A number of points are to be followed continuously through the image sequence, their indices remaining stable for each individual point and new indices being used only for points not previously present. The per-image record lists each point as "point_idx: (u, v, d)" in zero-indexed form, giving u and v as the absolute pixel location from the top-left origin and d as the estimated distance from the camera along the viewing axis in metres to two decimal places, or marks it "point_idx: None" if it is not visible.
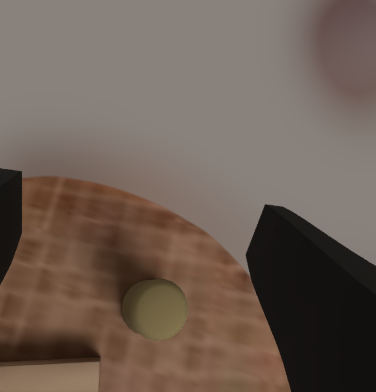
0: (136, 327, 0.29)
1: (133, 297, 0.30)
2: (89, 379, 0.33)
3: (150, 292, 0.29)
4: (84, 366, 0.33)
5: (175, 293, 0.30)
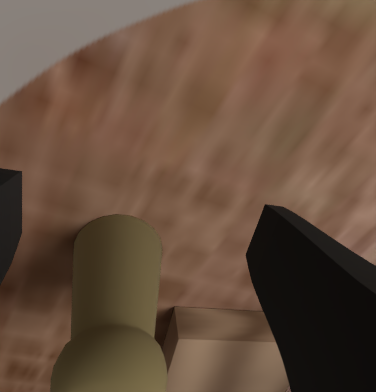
0: None
1: None
2: (196, 347, 0.25)
3: None
4: (179, 352, 0.25)
5: None
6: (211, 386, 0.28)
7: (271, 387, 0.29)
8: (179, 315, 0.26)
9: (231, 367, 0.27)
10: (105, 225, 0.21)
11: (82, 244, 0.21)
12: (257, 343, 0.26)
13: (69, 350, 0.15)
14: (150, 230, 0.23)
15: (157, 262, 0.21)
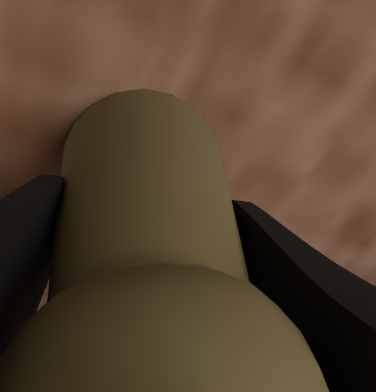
0: None
1: None
2: None
3: None
4: None
5: None
6: None
7: None
8: None
9: None
10: (124, 102, 0.11)
11: (78, 135, 0.11)
12: None
13: (28, 340, 0.04)
14: (205, 123, 0.12)
15: (225, 175, 0.11)
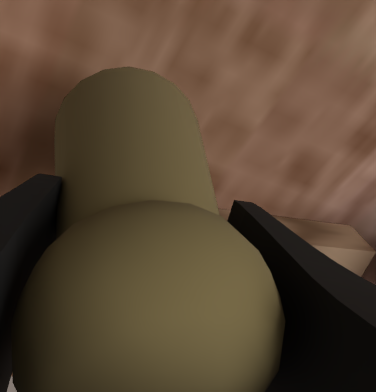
0: None
1: None
2: None
3: None
4: None
5: (92, 362, 0.05)
6: None
7: None
8: None
9: None
10: (111, 78, 0.12)
11: (71, 108, 0.12)
12: None
13: (57, 251, 0.06)
14: (184, 99, 0.14)
15: (202, 144, 0.13)
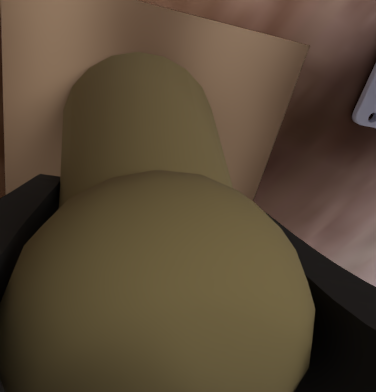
0: None
1: None
2: (49, 9, 0.12)
3: None
4: (13, 18, 0.11)
5: (82, 350, 0.04)
6: None
7: (229, 171, 0.15)
8: None
9: None
10: (119, 62, 0.12)
11: (78, 94, 0.11)
12: (188, 19, 0.12)
13: (48, 226, 0.05)
14: (197, 84, 0.13)
15: (216, 129, 0.12)
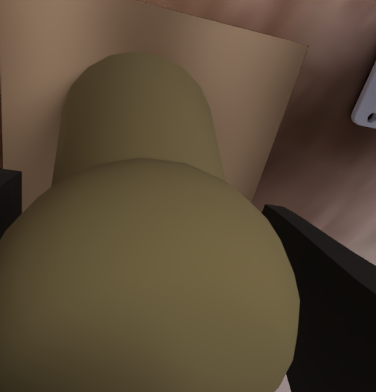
0: None
1: None
2: (47, 9, 0.11)
3: None
4: (11, 18, 0.11)
5: (53, 330, 0.04)
6: None
7: (228, 172, 0.15)
8: None
9: None
10: (117, 61, 0.12)
11: (75, 92, 0.11)
12: (187, 19, 0.12)
13: None
14: (195, 84, 0.13)
15: (213, 128, 0.12)
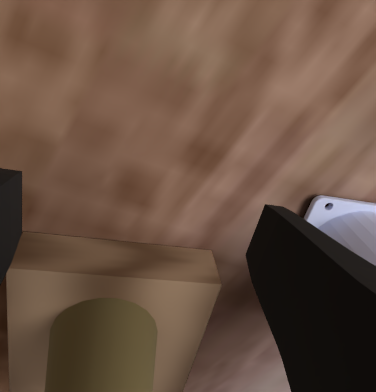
0: None
1: None
2: (39, 284, 0.17)
3: None
4: (15, 290, 0.17)
5: None
6: None
7: (172, 350, 0.21)
8: (25, 241, 0.18)
9: None
10: (86, 315, 0.17)
11: (57, 340, 0.17)
12: (134, 280, 0.18)
13: None
14: (142, 314, 0.19)
15: (150, 359, 0.17)
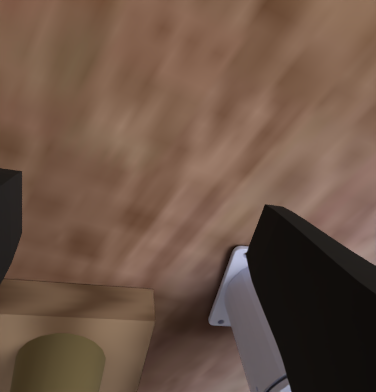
0: None
1: None
2: (4, 324, 0.22)
3: None
4: None
5: None
6: None
7: (120, 373, 0.26)
8: None
9: None
10: (42, 348, 0.22)
11: (19, 369, 0.21)
12: (81, 319, 0.22)
13: None
14: (89, 346, 0.23)
15: (93, 383, 0.22)
